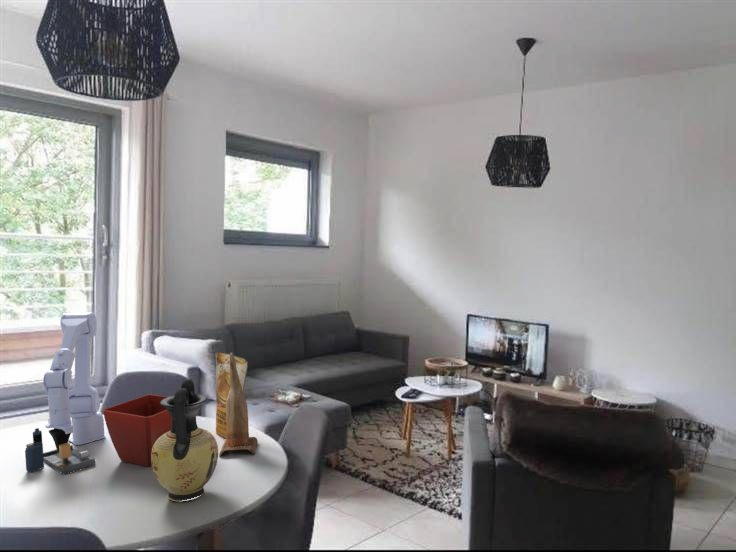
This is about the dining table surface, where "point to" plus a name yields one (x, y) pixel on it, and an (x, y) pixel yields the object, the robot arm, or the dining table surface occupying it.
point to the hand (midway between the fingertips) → (62, 451)
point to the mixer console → (69, 460)
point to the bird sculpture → (237, 416)
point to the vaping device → (35, 452)
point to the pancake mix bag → (226, 387)
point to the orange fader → (64, 451)
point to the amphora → (184, 447)
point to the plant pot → (137, 427)
